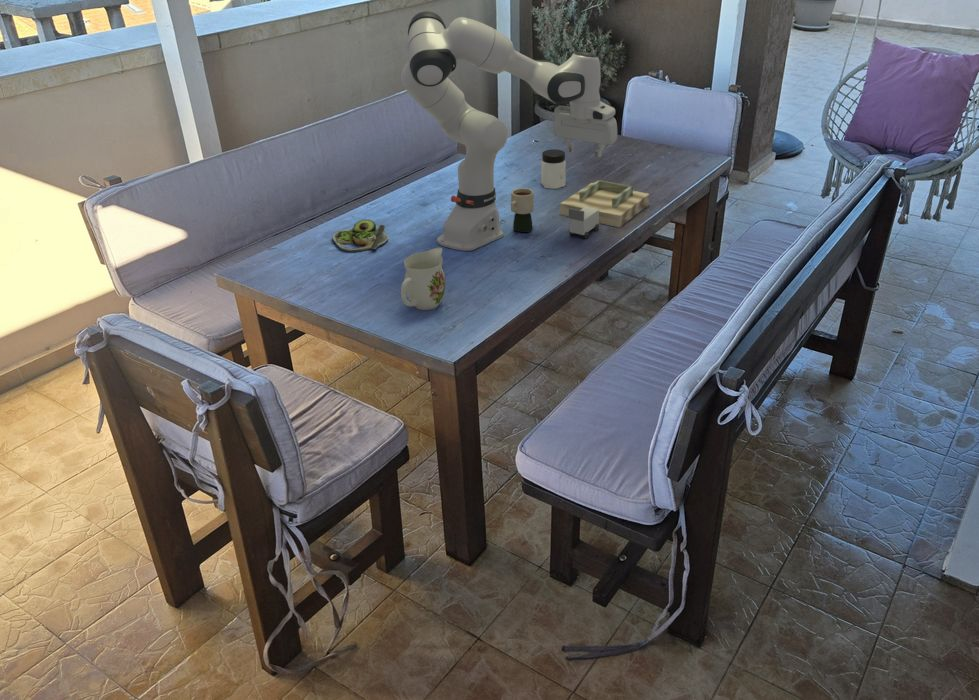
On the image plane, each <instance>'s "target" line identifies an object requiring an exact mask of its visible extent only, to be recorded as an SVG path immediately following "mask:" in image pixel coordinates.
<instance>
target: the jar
mask: <svg viewBox="0 0 979 700" xmlns="http://www.w3.org/2000/svg"><path fill="white" fill-rule="evenodd" d="M541 154H542V155H541V159H540V160H541V161H540V163H541V167H540V168H541V169H540V170H541V174H540V175H541V178H540V179H541V180H540V181H541V182H540V183H541V185H542V186H543V187H544V188H545V189H552V190H557V189H561V188H562V187H566V183H567V182H566V177H567V176H566V172H567V169H566V168H567V161H566V152H565V151H564V150H562V149H558V148H557V149H554V148H553V149H552V148H551V149H546V150H544V151H542V153H541Z"/></svg>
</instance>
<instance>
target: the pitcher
mask: <svg viewBox="0 0 979 700" xmlns="http://www.w3.org/2000/svg"><path fill="white" fill-rule="evenodd" d="M442 252H443V248H442V247H435V248H431V249H428V250H425V251H420V252H416V253H413V254H411V255H409V256H407V257H406V258H405V259H404V260H403V265H404V269H405V274H404V280H403V281H402V283H401V286H400V297H401V300H402V303H403V304H404V305H405V306H407V307H415V309H418V310H422V311H430V310H434V309H436V308H438V307H439V305H440V304H441V303H442V300H443V299H444V295H445V291H446V277H445V272H444V270H443V268H442V267H443V256H442ZM407 298H408V299H407Z"/></svg>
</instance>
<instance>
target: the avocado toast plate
mask: <svg viewBox="0 0 979 700" xmlns="http://www.w3.org/2000/svg"><path fill="white" fill-rule="evenodd" d="M384 230H385V225H383V224H380V225H377V224H376V223H375V222H374V221H373V220H372V219H370V218H369V219H367V218H366V219H362V220H358V221H356V222H355V223H354V224H353V227H352V228H346V229H340V230H338V231H336V232H335V233H333V235H332V236H331V237H332V242H333V243H335V244H336V246H337V247H338V248H340V249H341V250H343V251H346V252H351V253H352V252H353V253H358V252H364V251H368V250H377V248H378V247H380V246H382V245H384V244H386V242H388V240H389V236H388V234H387V233H385V232H384ZM344 245H356V246H357V248H354V247H353V248H351V247H346V246H344Z"/></svg>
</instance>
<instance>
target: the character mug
mask: <svg viewBox="0 0 979 700" xmlns="http://www.w3.org/2000/svg"><path fill="white" fill-rule="evenodd" d="M510 197H511V198H510V201H511V202H510V211H511V212H512V213H514V217H513V224H512V229H513V230H514V231H515V232H523V233H525V232H527V233H528V232H531V231H532V230H533V227H534V226H533V219H532V218H533V217H532V214H531V213H532V212H534V209H535V204H534V203H535V193H534V190H533V189H531V188H525V187H521V188H514V189H513V190H511V193H510Z"/></svg>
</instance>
